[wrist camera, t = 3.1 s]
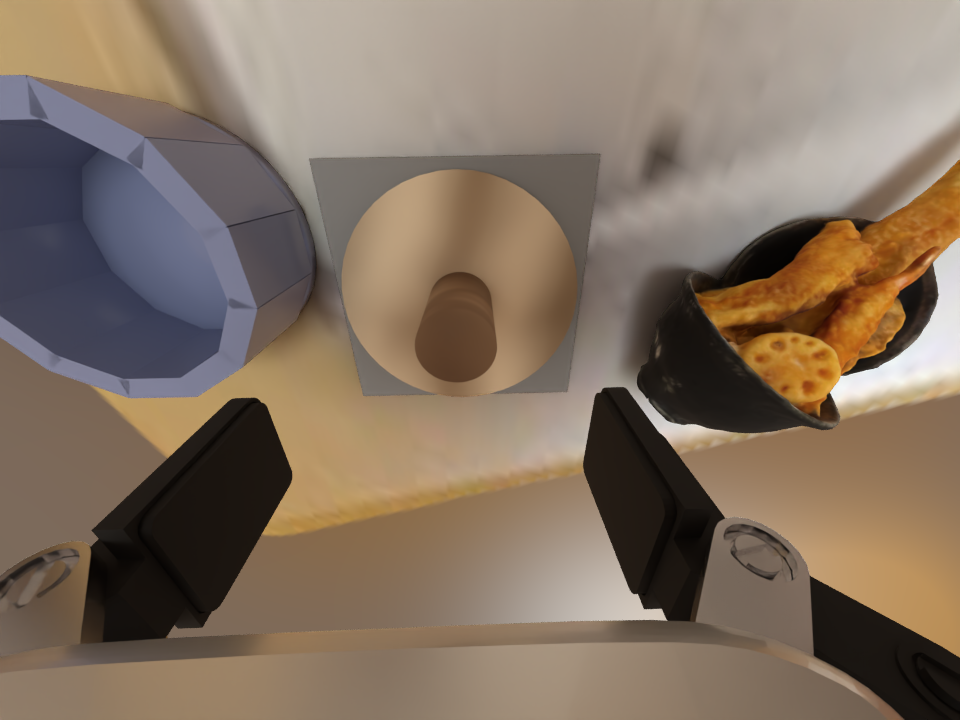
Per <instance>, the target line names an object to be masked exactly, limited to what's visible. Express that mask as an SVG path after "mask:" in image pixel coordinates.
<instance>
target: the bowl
mask: <svg viewBox="0 0 960 720" xmlns="http://www.w3.org/2000/svg"><path fill="white" fill-rule="evenodd" d="M315 273H316V256H315V249H314V243H313V238H312V235H311V232H310V229H309V225H308V223H307V220H306V218H305V216H304V213H303V211H302V209H301V207H300V205H299V204H298V202H297V200H296V198H295V197H294V195H293V193H292V192H291V190H290V189H289V187H288V186H287V185H286V183H285V182H284V180H283V179H282V178H281V176H280V175H279V174H278V173H277V172H276V171H275V170H274V168H273V167H272V166H271V165H270V164H269V163H268V162H267V161H266V160H265V159H264V158H263V157H262V156H261V155H260V154H259V153H258V152H257V151H256V150H254V149H253V148H252V147H251V146H249V145H248V144H247V143H245V142H244V141H243V140H242V139H240V138H239V137H237V136H236V135H234V134H233V133H231V132H229V131H228V130H226V129H225V128H223V127H221V126H219V125H217V124H215V123H213V122H211V121H209V120H207V119H205V118H202V117H199V116H196V115H193V114H190V113H187V112H183V111H181V110H179V109H177V108H175V107H174V106H172V105H170V104H168V103H164V102H159V101H153V100H148V99H143V98H138V97H133V96H128V95H123V94H118V93H113V92H108V91H103V90H98V89H93V88H88V87H83V86H78V85H73V84H68V83H63V82H57V81H52V80H47V79H42V78H37V77H32V76H27V75H0V337H1V338H2V339H4V340H5V341H7V342H8V343H9V344H11V345H13V346H14V347H15V348H17V349H19V350H20V351H21V352H23V353H24V354H26V355H27V356H29V357H30V358H32V359H33V360H34V361H36V362H37V363H39V364H40V365H42V366H43V367H45V368H46V369H48V370H50V371H52V372H54V373H58V374H61V375H63V376H66V377H69V378H72V379H75V380H78V381H81V382H84V383H87V384H90V385H92V386H95V387H98V388H101V389H104V390H107V391H110V392H113V393H116V394H119V395H122V396H125V397H128V398H166V397H198V396H199V395H201V394H202V393H204V392H205V391H207V390H208V389H210V388H211V387H213V386H215V385H216V384H218V383H219V382H221V381H222V380H224V379H225V378H227V377H229V376H230V375H232V374H233V373H235V372H236V371H238V370H239V369H241V368H242V367H244V366H245V365H246V364H247V363H248V362H249V361H250V360H252V359H253V358H254V357H255V356H256V355H257V354H258V353H260V352H261V351H262V350H263V349H264V348H265V347H266V346H268V345H269V344H270V343H271V342H272V341H273V340H274V339H276V338H277V337H278V336H279V335H280V334H281V333H282V332H284V331H285V330H286V329H287V328H288V327H289V326H290V325H292V324H293V323H294V322H295V321H296V320H297V319H298V316H299V313H300V312H301V311H302V310H303V308H304V307H305V305H306V304H307V302H308V300H309V297H310V295H311V293H312V290H313V286H314V281H315Z"/></svg>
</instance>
